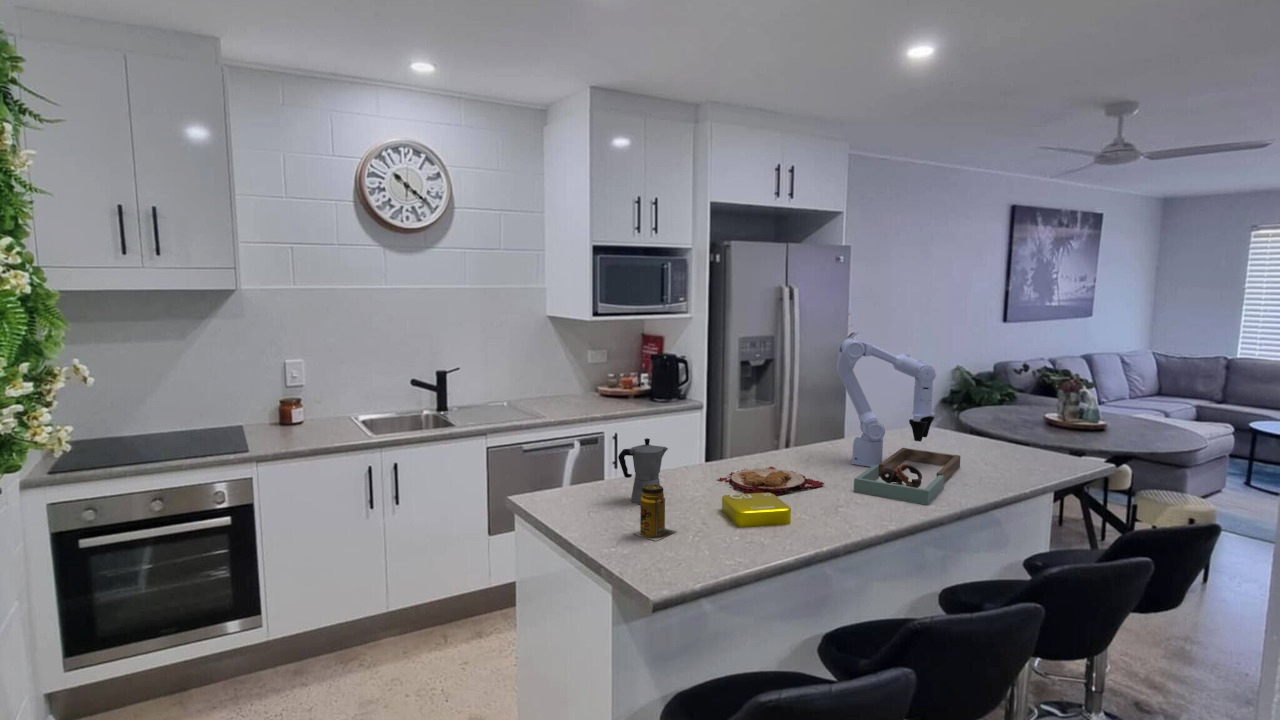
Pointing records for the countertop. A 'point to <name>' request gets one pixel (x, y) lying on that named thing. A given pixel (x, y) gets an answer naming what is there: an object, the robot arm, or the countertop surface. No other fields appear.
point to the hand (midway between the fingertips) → (920, 439)
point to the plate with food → (769, 481)
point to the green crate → (896, 488)
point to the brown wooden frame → (924, 460)
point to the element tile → (756, 510)
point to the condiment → (653, 513)
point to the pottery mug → (901, 475)
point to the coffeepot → (643, 466)
